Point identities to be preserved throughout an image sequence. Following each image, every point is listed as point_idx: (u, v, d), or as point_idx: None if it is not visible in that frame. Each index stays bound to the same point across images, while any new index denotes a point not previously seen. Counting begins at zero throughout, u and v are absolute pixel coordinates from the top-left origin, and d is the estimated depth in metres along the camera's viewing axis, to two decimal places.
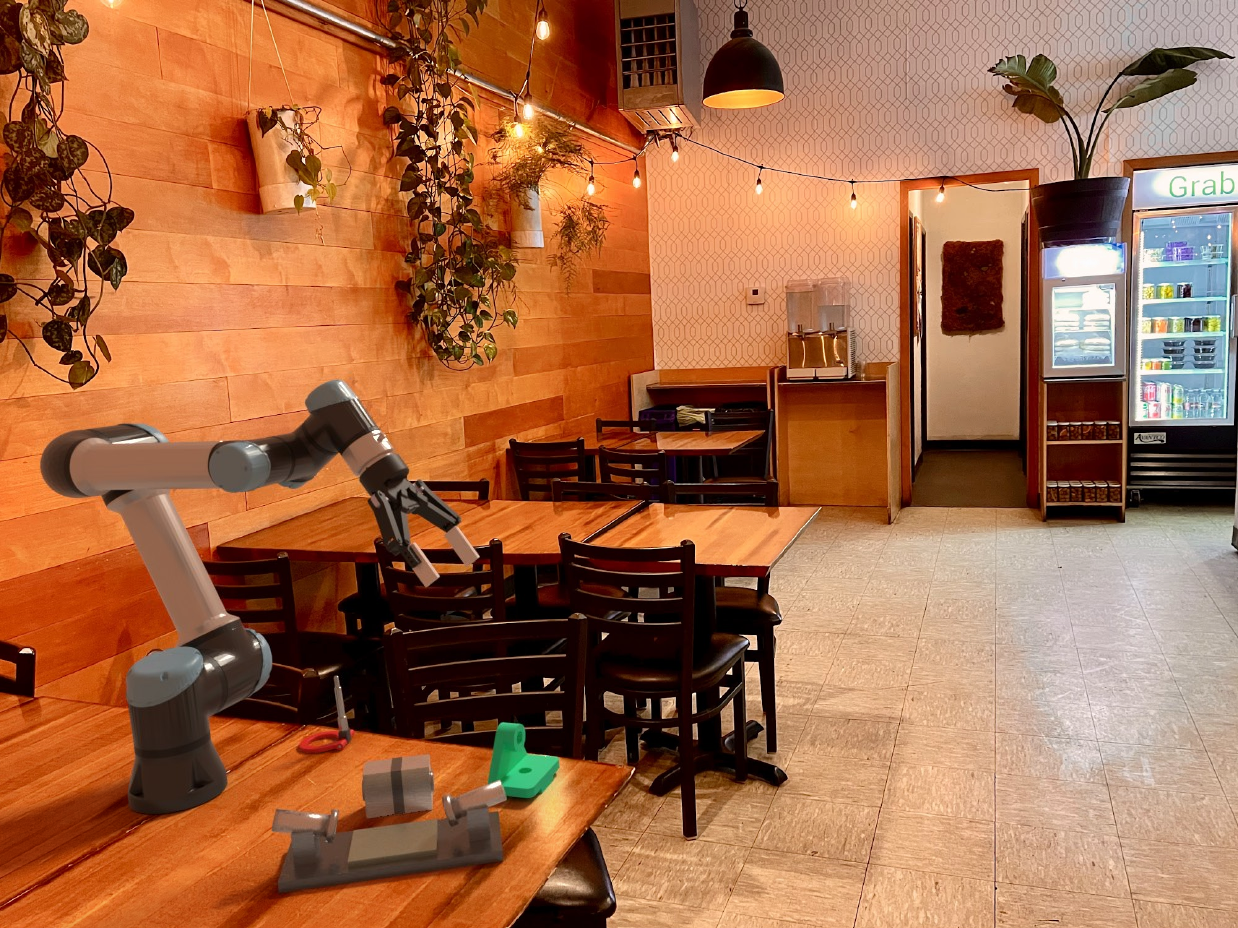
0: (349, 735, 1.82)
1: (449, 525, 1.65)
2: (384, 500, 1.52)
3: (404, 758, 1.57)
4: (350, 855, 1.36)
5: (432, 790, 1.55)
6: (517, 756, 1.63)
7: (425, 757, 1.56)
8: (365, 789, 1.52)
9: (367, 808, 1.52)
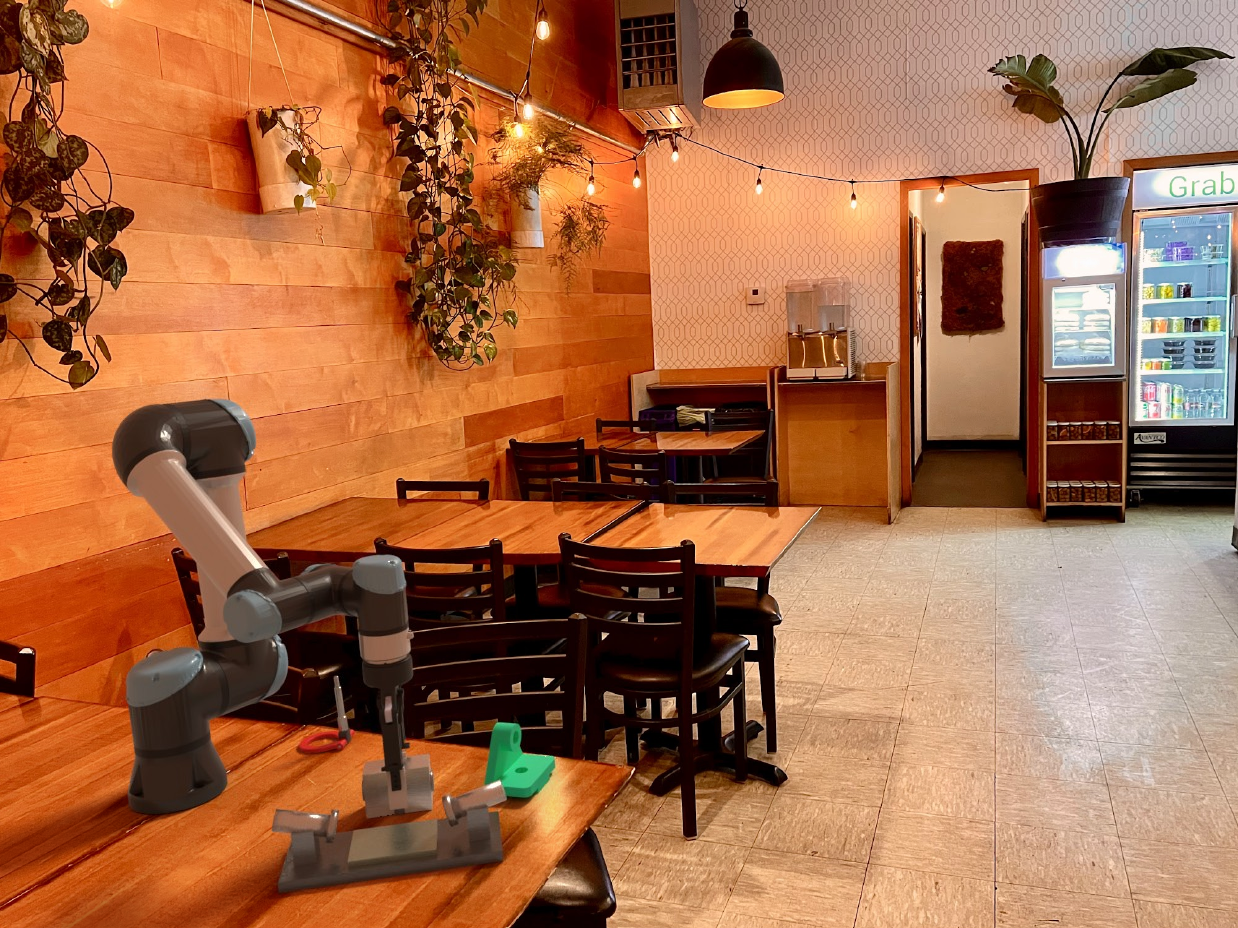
0: (349, 735, 1.82)
1: None
2: (397, 718, 1.48)
3: (404, 758, 1.57)
4: (350, 855, 1.36)
5: (432, 790, 1.55)
6: (513, 755, 1.63)
7: (425, 757, 1.56)
8: (365, 789, 1.52)
9: (367, 808, 1.52)
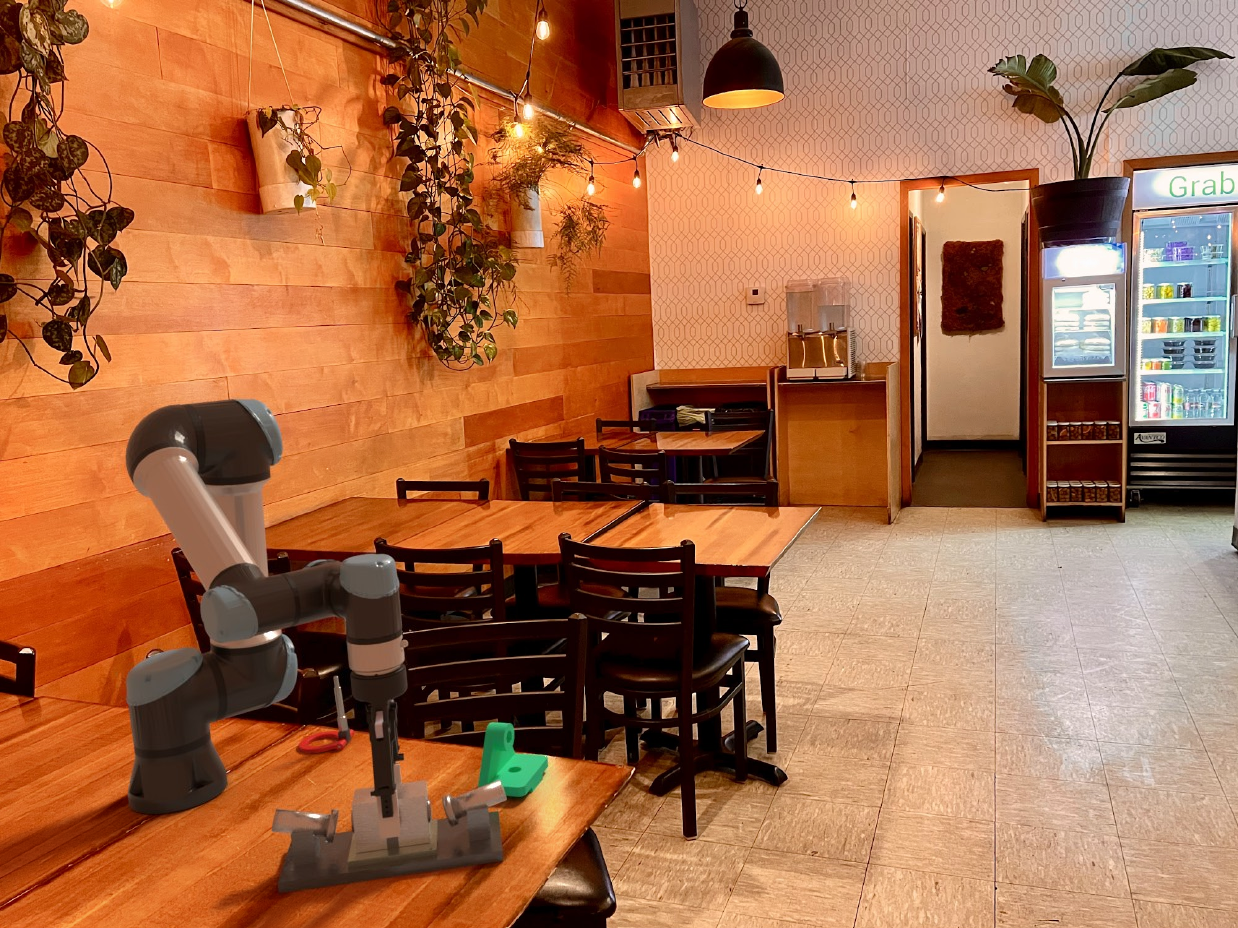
0: (349, 735, 1.82)
1: None
2: (389, 734, 1.32)
3: (398, 785, 1.42)
4: (350, 855, 1.36)
5: (429, 821, 1.40)
6: (506, 755, 1.64)
7: (421, 784, 1.41)
8: (355, 820, 1.37)
9: (357, 841, 1.37)
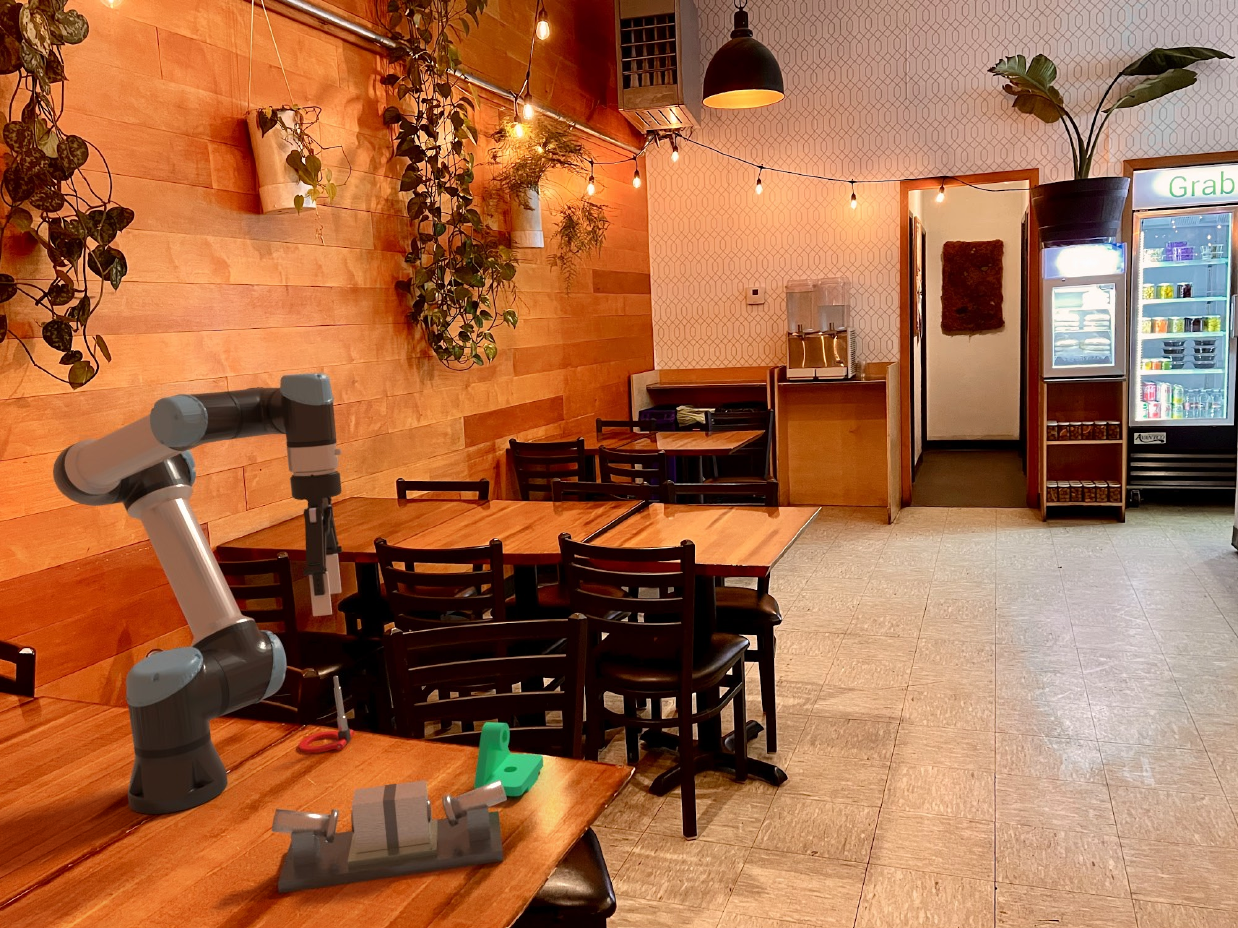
0: (349, 735, 1.82)
1: (330, 549, 1.64)
2: (321, 520, 1.50)
3: (398, 785, 1.42)
4: (350, 855, 1.36)
5: (429, 821, 1.40)
6: (502, 755, 1.64)
7: (421, 784, 1.41)
8: (355, 820, 1.37)
9: (357, 841, 1.37)
